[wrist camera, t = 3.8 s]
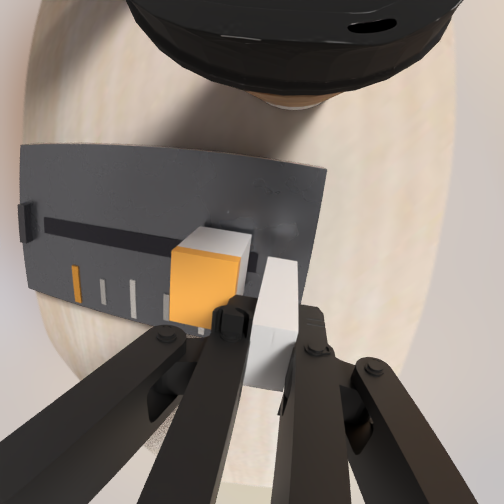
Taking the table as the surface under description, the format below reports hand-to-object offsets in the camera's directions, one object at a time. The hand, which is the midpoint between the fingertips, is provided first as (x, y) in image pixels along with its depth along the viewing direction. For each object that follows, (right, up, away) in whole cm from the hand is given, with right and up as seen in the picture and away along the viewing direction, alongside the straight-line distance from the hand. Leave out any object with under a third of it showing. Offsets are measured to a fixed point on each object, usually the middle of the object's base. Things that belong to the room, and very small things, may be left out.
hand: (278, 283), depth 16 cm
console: (-9, +3, +5) cm, 10 cm away
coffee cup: (+1, +13, 0) cm, 13 cm away
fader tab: (-3, +1, +2) cm, 4 cm away
